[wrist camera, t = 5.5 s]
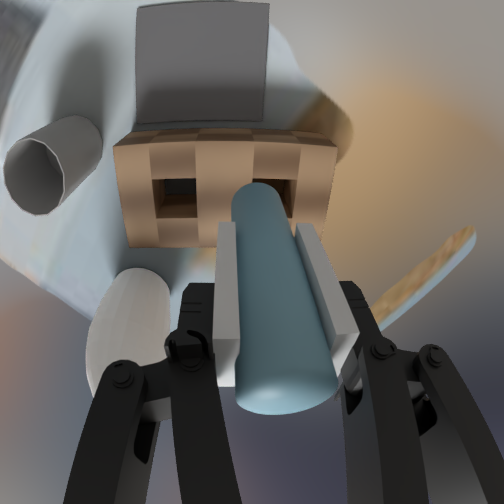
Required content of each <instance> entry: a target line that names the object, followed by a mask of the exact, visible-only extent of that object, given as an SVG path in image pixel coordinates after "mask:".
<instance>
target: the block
mask: <svg viewBox="0 0 504 504" xmlns="http://www.w3.org/2000/svg"><path fill="white" fill-rule="evenodd" d="M337 152H338V147H337V146H336V145H335V144H334V143H332V142H331V141H330V140H329V139H328V138H326V137H325V136H324V135H323V134H321V133H314V132H303V131H290V130H274V129H251V128H189V129H167V130H151V131H139V132H130V133H129V134H128V135H126V136H125V137H124V138H123V139H121V140H120V141H119V142H118V143H116V144H115V145H114V146H113V154H114V162H115V169H116V177H117V183H118V190H119V196H120V202H121V208H122V213H123V219H124V224H125V229H126V234H127V239H128V243H129V248H182V247H217V236H218V222H231V202H232V199H233V196H234V194H235V193H236V192H237V191H238V190H239V189H240V188H241V187H243V186H244V185H247V184H250V183H252V178H266V179H285V183H284V192H283V195H279V196H280V199H281V202H282V204H283V207H284V210H285V213H286V216H287V219H288V221H289V224H290V227H291V230H292V233H293V236H295V229H296V223H312V224H313V226H314V228H315V231H316V233H317V235H318V237H319V239H320V241H321V238H322V234H323V229H324V224H325V219H326V214H327V209H328V204H329V198H330V192H331V187H332V182H333V176H334V170H335V165H336V159H337ZM177 178H196V191H197V194H169V195H166V190H165V179H177Z"/></svg>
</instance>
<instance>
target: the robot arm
mask: <svg viewBox="0 0 504 504" xmlns="http://www.w3.org/2000/svg"><path fill="white" fill-rule="evenodd" d="M294 239H295V242H296V245H297V248H298V251H299V254H300V257H301V260H302V263H303V266H304V269H305V272H306V275H307V278H308V281H309V284H310V288H311V291H312V294H313V297H314V300H315V303H316V307H317V310H318V313H319V316H320V320H321V323H322V326H323V330H324V333H325V336H326V340H327V343H328V347H329V350H330V353H331V357H332V360H333V364H334V367H335V371H336V375H337V377H338V376H339V374H340V372H341V374H342V378H343V383H342V385H341V386H340V388H339V390H338V391H337V393H336V395H335V401H337V400H338V398H339V397H340V395H341V405H342V415H343V427H344V440H345V454H346V474H347V502H348V504H429V500H428V492H429V495H430V498H431V500H432V503H433V504H504V460H503V458H502V455H501V453H500V451H499V449H498V446H497V444H496V442H495V440H494V438H493V436H492V434H491V431H490V430H489V428H488V425H487V423H486V422H485V420H484V418H483V416H482V414H481V412H480V410H479V408H478V406H477V404H476V402H475V401H474V399H473V397H472V395H471V393H470V392H469V390H468V388H467V386H466V384H465V383H464V381H463V379H462V378H461V376H460V374H459V373H458V371H457V369H456V368H455V366H454V364H453V363H452V361H451V359H450V358H449V356H448V355H447V353H446V352H445V351H444V350H443V349H442V348H440V347H439V346H437V345H433V344H427V345H425V346H423V347H422V348H421V349H420V351H419V352H410V351H404V350H400V349H397V347H396V345H395V344H394V343H393V342H392V341H391V340H389V339H387V338H385V337H383V336H382V335H381V332H380V330H379V328H378V325H377V323H376V321H375V319H374V317H373V315H372V312H371V310H370V308H368V307H369V306H368V304H367V302H366V301H365V298H364V296H363V294H362V291H361V289H360V288H359V287H358V286H357V285H356V284H354V283H353V282H352V281H338V279H337V277H336V275H335V272H334V270H333V268H332V266H331V263H330V261H329V259H328V257H327V254H326V252H325V250H324V248H323V246H322V243H321V241H320V239H319V237H318V235H317V233H316V231H315V228H314V226H313V224H312V223H296V229H295V236H294ZM164 349H165V353H166V356H167V358H165V359H164V360H162V361H160V362H157V363H153V364H149V365H144V366H139V365H138V364H137V363H136V362H133V361H131V360H118V361H115V362H112V363H111V364H110V365H108V366H107V367H106V369H105V370H104V372H103V374H102V376H101V379H100V382H99V384H98V387H97V390H96V393H95V395H94V398H93V401H92V404H91V407H90V410H89V413H88V416H87V419H86V422H85V425H84V428H83V431H82V434H81V438H80V441H79V444H78V448H77V451H76V454H75V458H74V462H73V465H72V469H71V473H70V477H69V481H68V485H67V489H66V493H65V497H64V502H63V504H145V502H146V496H147V489H148V484H149V479H150V473H151V468H152V462H153V457H154V452H155V446H156V442H157V437H158V432H159V427H160V422H161V421H163V420H168V419H172V426H173V436H174V447H175V455H176V464H177V472H178V478H179V486H180V493H181V500H182V504H242V501H241V497H240V493H239V489H238V484H237V481H236V475H235V471H234V466H233V462H232V457H231V452H230V447H229V442H228V437H227V432H226V427H225V422H224V417H223V411H222V407H221V400H220V395H219V389H218V386H235V371H234V364H235V360H236V358H237V356H238V355H239V354H240V325H239V304H238V280H237V255H236V228H235V222H218V236H217V252H216V270H215V283H189V284H188V286H187V287H186V288H185V290H184V291H183V295H182V301H181V307H180V314H179V320H178V327H177V329H176V330H174V331H173V332H171V333H170V334H169V335H168V337H167V338H166V339H165V343H164ZM426 394H427V395H428V397H429V398H427V397H426Z"/></svg>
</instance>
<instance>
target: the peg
mask: <svg viewBox="0 0 504 504" xmlns="http://www.w3.org/2000/svg"><path fill="white" fill-rule="evenodd" d="M231 222H235V228H236V255H237V280H238V304H239V325H240V354H239V355H238V356H237V358H236V360H235V364H234V371H235V396H236V401H237V403H238V404H239V405H240V406H241V407H242V408H244V409H246V410H248V411H251V412H255V413H259V414H269V415H279V414H289V413H295V412H299V411H303V410H306V409H309V408H312V407H314V406H316V405H318V404H320V403H322V402H324V401H325V400H327V399H328V398H329V397H331V396H332V395H333V394H334V392H335V391H336V390H337V387H338V378H337V375H336V371H335V367H334V364H333V360H332V357H331V353H330V350H329V347H328V343H327V340H326V336H325V333H324V330H323V326H322V323H321V320H320V316H319V313H318V310H317V307H316V303H315V300H314V297H313V294H312V291H311V288H310V284H309V281H308V278H307V275H306V272H305V269H304V266H303V263H302V260H301V257H300V254H299V251H298V248H297V245H296V242H295V239H294V236H293V233H292V230H291V227H290V224H289V221H288V219H287V216H286V213H285V210H284V207H283V204H282V202H281V199H280V196H279V194H278V193H277V191H276V190H275V189H274V188H273V187H271V186H269V185H267V184H264V183H250V184H247V185H244V186H243V187H241V188H240V189H239V190H238V191H237V192H236V193H235V194H234V196H233V199H232V202H231Z"/></svg>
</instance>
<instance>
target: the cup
mask: <svg viewBox="0 0 504 504" xmlns="http://www.w3.org/2000/svg"><path fill="white" fill-rule="evenodd" d="M102 147H103V142H102V139H101V136H100V133H99V130H98V128H97V127H96V126H95V125H94V124H93V123H92V122H91V121H90V120H89V119H88V118H85V117H82V116H78V115H72V116H68V117H63V118H61V119H59V120H57V121H55V122H53V123H51V124H49V125H47V126H45V127H43V128H41V129H39V130H37V131H35V132H33V133H31V134H29V135H27V136H25V137H24V138H22V139H20V140H18V141H17V142H16V143H15V144H14V145H13V146H12V147H11V148H10V150H9V151H8V152H7V154H6V158H5V162H4V165H3V174H4V184H5V186H6V189H7V191H8V193H9V195H10V197H11V199H12V200H13V201H14V203H15V204H16V205H17V206H18V207H19V208H20V209H21V210H22V211H24V212H27V213H29V214H31V215H34V216H43V215H49V214H50V213H51V212H53V211H54V210H55V209H57V208H58V207H59V206H60V205H61V204H62V203H63V202H64V200H65V199H66V198H67V197H68V196H69V195H70V194H71V193H72V192H73V191H74V190H75V189H76V188H77V187H78V186H79V185H80V184H81V183H82V182H83V181H84V180H85V179H86V178H87V177H88V176H89V175H90V174H91V173H92V172H93V171H94V170H95V169H96V167H97V165H98V163H99V161H100V160H101V158H102Z"/></svg>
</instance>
